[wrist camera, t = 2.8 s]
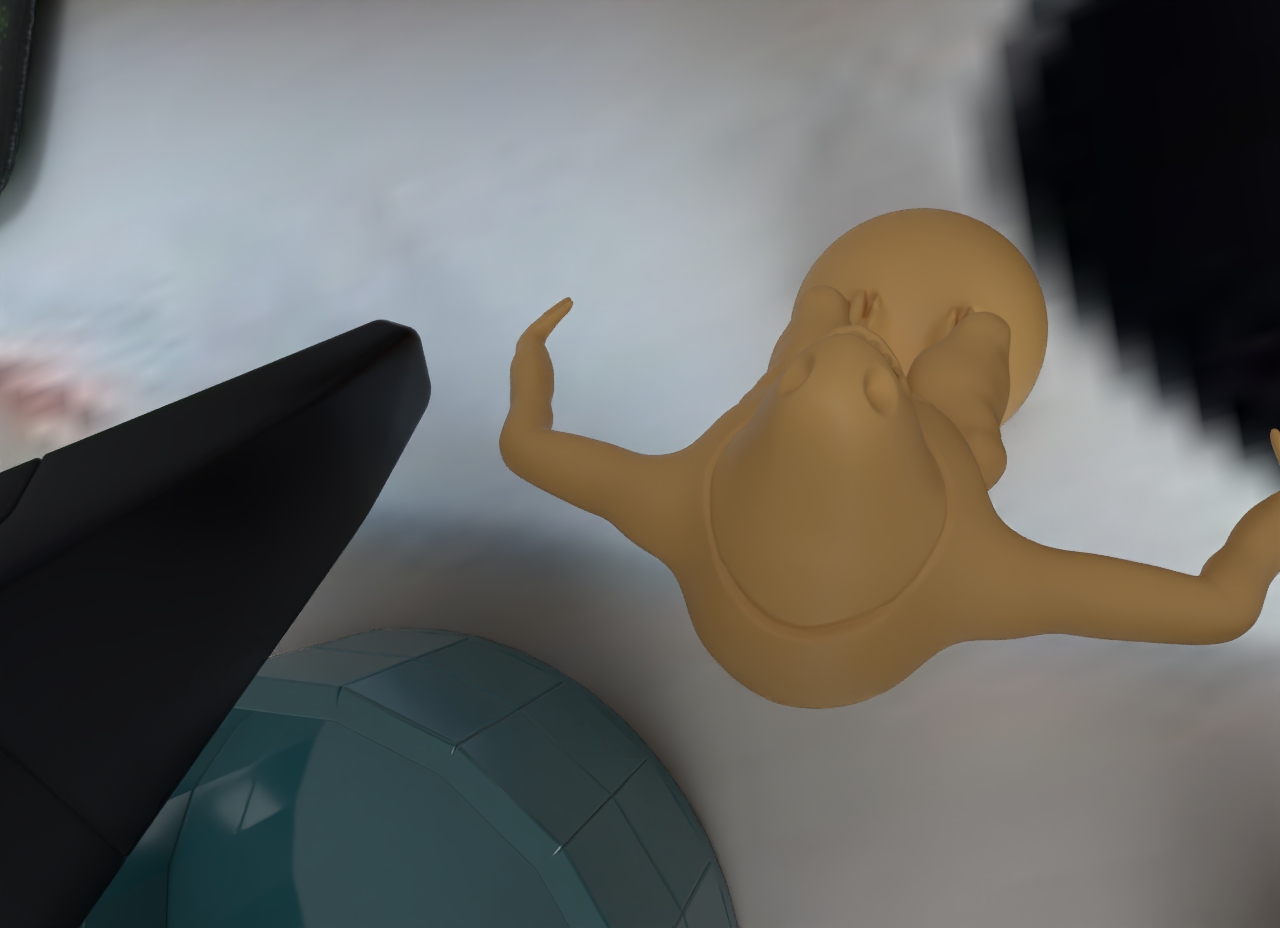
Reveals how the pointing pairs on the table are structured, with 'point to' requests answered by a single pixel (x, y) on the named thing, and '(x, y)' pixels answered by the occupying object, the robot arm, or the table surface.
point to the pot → (420, 804)
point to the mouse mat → (13, 76)
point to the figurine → (876, 482)
